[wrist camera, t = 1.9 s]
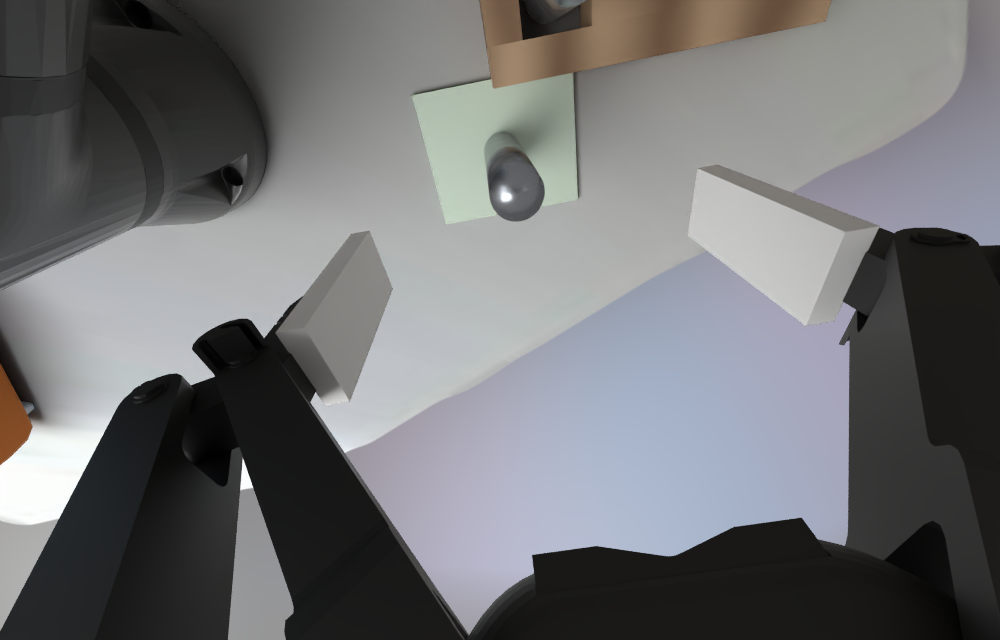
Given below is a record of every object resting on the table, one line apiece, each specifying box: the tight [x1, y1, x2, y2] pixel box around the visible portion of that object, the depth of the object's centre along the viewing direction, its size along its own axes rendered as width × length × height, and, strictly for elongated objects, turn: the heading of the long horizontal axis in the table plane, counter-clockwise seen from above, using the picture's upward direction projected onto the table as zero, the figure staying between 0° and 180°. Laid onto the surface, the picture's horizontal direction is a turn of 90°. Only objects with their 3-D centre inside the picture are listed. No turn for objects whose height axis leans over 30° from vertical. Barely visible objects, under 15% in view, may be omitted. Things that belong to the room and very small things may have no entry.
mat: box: [412, 73, 578, 224], centre depth 29 cm, size 12×10×1 cm
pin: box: [484, 132, 545, 221], centre depth 24 cm, size 3×3×12 cm
